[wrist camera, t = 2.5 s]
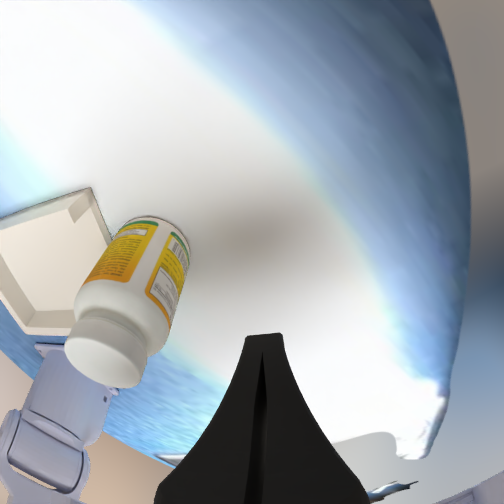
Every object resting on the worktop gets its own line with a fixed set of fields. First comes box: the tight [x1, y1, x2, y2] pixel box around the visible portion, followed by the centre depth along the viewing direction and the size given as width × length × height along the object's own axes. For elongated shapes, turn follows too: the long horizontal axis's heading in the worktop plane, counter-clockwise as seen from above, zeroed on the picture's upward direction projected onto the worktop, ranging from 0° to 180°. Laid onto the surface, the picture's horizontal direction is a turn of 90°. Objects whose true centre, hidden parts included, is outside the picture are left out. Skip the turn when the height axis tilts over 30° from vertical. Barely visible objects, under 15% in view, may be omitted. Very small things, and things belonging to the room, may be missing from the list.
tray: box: [0, 187, 112, 336], centre depth 20 cm, size 11×13×3 cm
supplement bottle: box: [64, 217, 190, 388], centre depth 16 cm, size 5×5×10 cm
